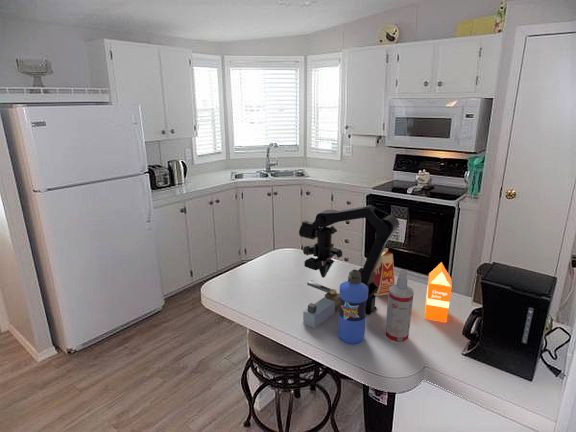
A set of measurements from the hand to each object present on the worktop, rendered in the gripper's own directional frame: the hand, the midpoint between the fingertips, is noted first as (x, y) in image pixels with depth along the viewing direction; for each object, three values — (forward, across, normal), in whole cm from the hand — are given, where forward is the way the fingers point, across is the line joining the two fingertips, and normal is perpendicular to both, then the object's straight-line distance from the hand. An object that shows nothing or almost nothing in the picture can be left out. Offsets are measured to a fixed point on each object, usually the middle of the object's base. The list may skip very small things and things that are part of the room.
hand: (323, 277), depth 153 cm
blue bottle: (+9, +17, +24) cm, 30 cm away
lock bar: (+2, +6, +3) cm, 7 cm away
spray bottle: (+9, +7, +36) cm, 37 cm away
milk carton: (+9, -20, +16) cm, 27 cm away
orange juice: (+9, -16, +41) cm, 45 cm away
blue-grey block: (+8, +15, +9) cm, 19 cm away
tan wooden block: (+8, +6, +9) cm, 13 cm away
